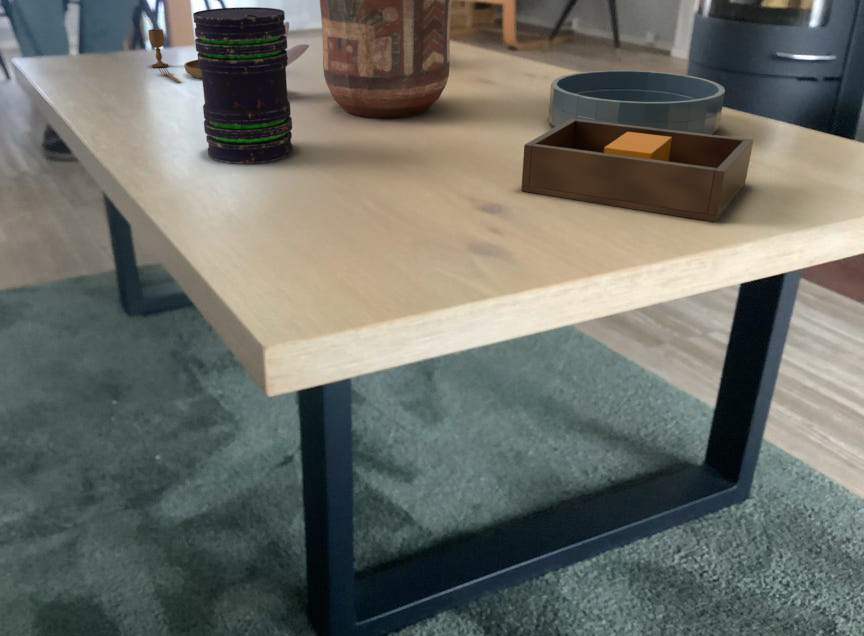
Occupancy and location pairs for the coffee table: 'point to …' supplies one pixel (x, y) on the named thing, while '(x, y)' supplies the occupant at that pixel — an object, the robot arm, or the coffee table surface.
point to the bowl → (638, 100)
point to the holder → (638, 169)
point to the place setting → (190, 67)
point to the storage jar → (244, 83)
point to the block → (641, 146)
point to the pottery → (386, 54)
